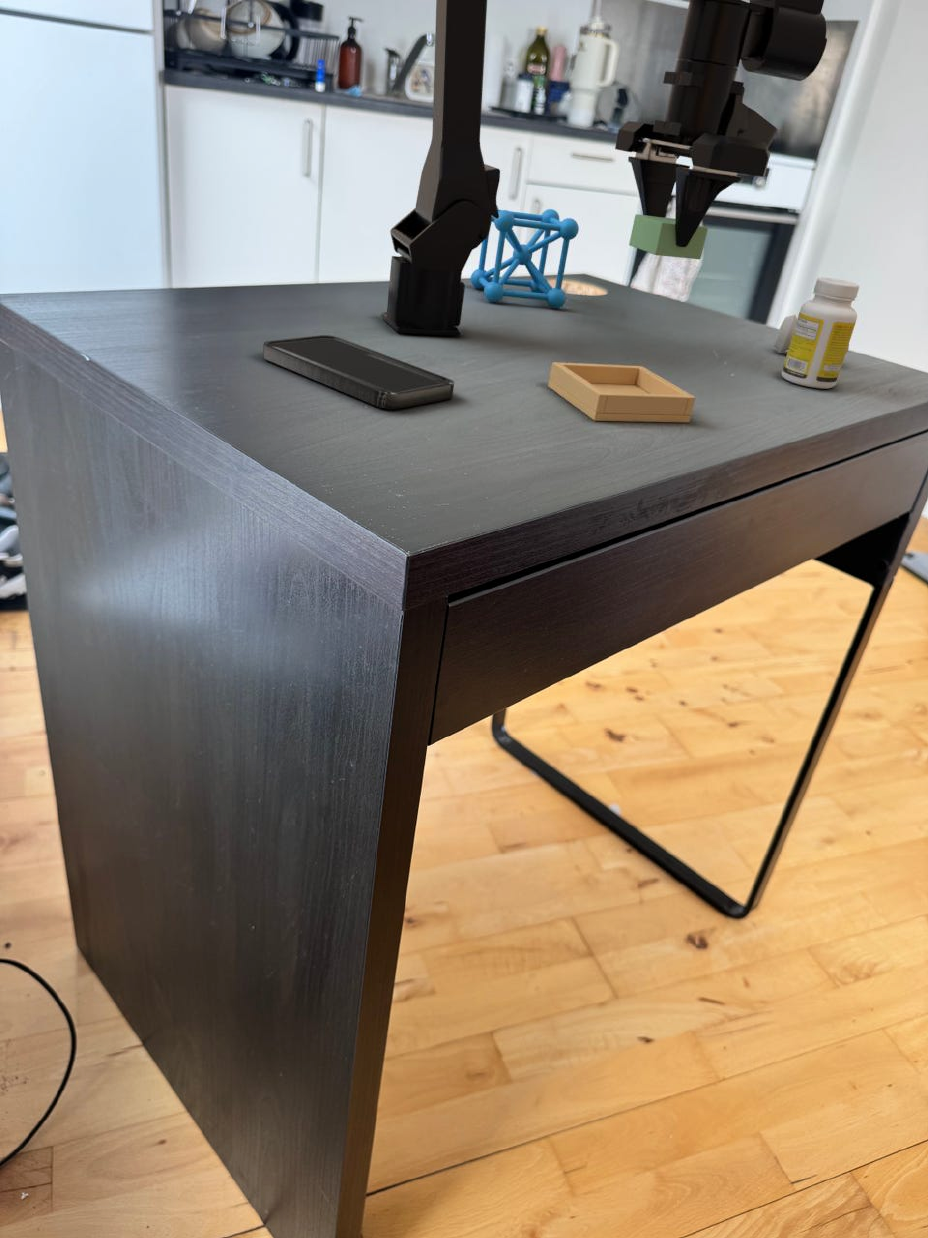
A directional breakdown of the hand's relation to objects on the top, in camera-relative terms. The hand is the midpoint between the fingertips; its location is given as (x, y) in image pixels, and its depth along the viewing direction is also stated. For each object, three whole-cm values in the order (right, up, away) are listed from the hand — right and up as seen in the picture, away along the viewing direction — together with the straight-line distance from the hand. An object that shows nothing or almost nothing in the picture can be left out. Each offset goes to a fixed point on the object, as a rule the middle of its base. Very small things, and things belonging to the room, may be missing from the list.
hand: (666, 241), depth 94 cm
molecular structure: (-14, 0, +18) cm, 23 cm away
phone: (-29, -19, -21) cm, 41 cm away
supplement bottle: (+14, -15, 0) cm, 20 cm away
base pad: (-8, -21, -17) cm, 28 cm away
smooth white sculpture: (+18, -9, +11) cm, 23 cm away
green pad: (0, -1, +1) cm, 1 cm away
